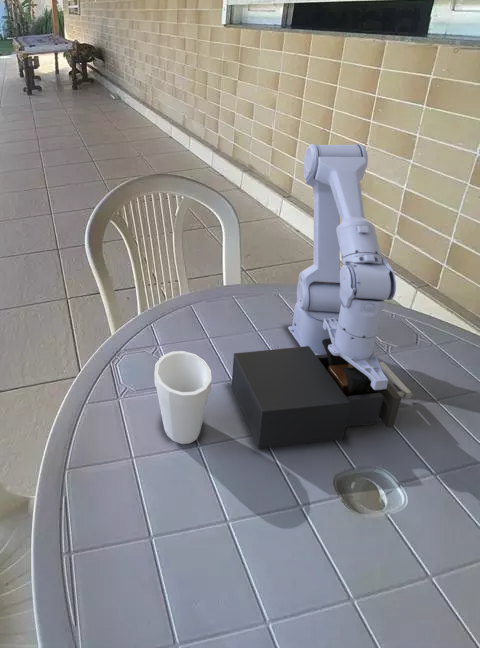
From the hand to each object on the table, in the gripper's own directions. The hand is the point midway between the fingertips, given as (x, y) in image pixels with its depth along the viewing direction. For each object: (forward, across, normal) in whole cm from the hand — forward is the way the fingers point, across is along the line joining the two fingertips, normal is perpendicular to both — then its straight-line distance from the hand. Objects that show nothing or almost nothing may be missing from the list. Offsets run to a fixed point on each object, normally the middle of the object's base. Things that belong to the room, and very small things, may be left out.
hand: (345, 386), depth 76 cm
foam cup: (+5, +1, -30) cm, 30 cm away
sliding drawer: (+4, 0, +1) cm, 4 cm away
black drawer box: (+5, 0, -11) cm, 12 cm away
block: (+1, 0, 0) cm, 1 cm away
